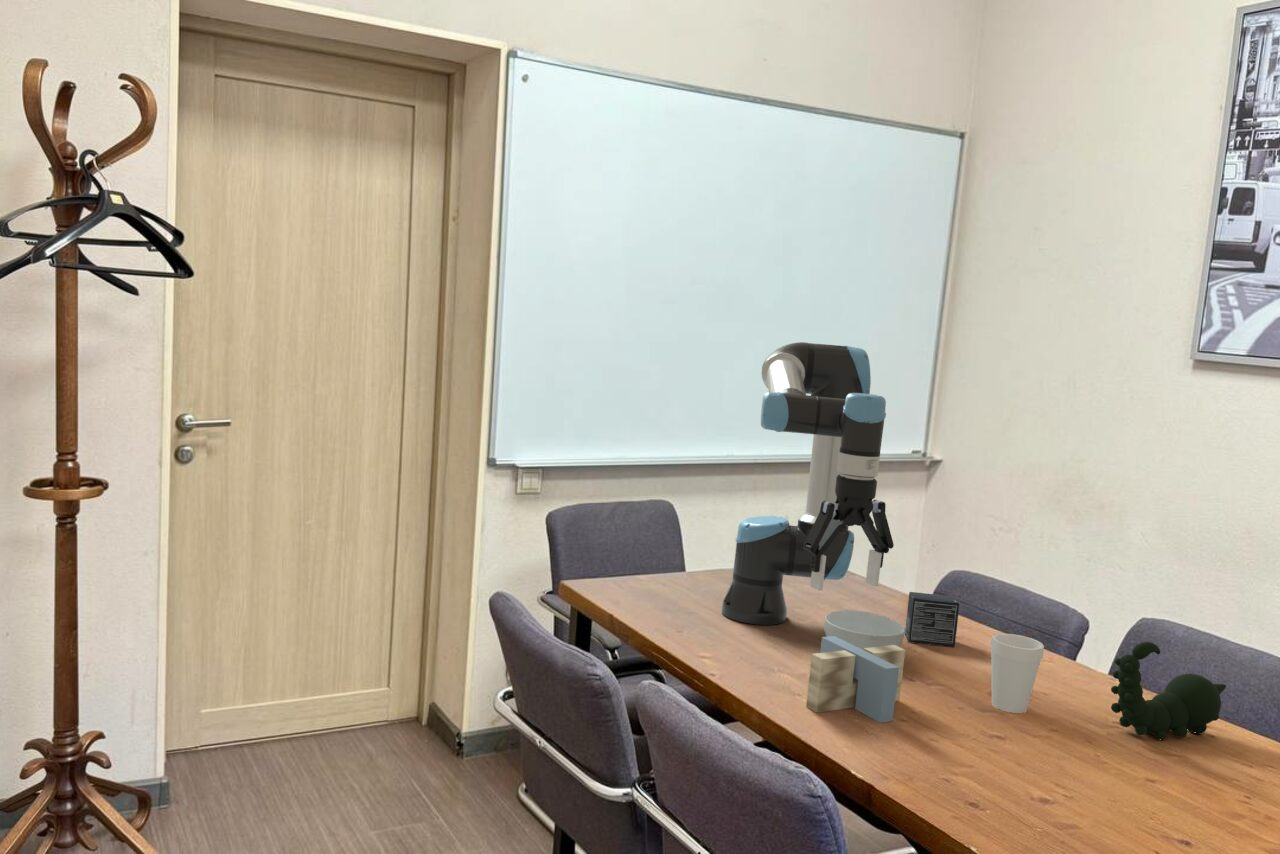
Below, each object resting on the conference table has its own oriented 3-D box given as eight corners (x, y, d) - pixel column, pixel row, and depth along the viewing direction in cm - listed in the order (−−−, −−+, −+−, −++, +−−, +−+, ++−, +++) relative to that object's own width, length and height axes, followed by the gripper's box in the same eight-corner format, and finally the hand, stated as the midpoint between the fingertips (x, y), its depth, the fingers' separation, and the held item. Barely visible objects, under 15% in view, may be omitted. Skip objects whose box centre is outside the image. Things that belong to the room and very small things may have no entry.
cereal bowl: (817, 658, 225) (820, 625, 224) (825, 636, 241) (828, 605, 240) (899, 672, 220) (903, 639, 220) (902, 649, 236) (906, 618, 236)
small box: (950, 639, 247) (955, 595, 246) (955, 648, 241) (961, 603, 239) (903, 634, 248) (908, 590, 247) (907, 642, 242) (913, 597, 240)
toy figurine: (1134, 756, 191) (1243, 737, 199) (1142, 654, 188) (1251, 639, 196) (1096, 734, 200) (1202, 717, 208) (1103, 637, 197) (1209, 623, 205)
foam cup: (1034, 704, 209) (1043, 639, 207) (1035, 720, 200) (1044, 652, 198) (983, 694, 212) (992, 630, 210) (982, 709, 203) (991, 643, 201)
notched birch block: (816, 712, 194) (822, 659, 193) (806, 706, 196) (812, 653, 195) (899, 700, 204) (905, 649, 202) (888, 695, 206) (894, 644, 205)
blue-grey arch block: (816, 687, 207) (821, 637, 206) (828, 685, 209) (834, 635, 207) (880, 722, 192) (886, 668, 190) (892, 720, 193) (899, 667, 192)
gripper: (817, 480, 191) (804, 596, 194) (920, 479, 204) (907, 588, 206) (791, 472, 198) (779, 584, 200) (893, 472, 210) (880, 577, 213)
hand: (844, 586), depth 203 cm, fingers open, 13 cm apart
